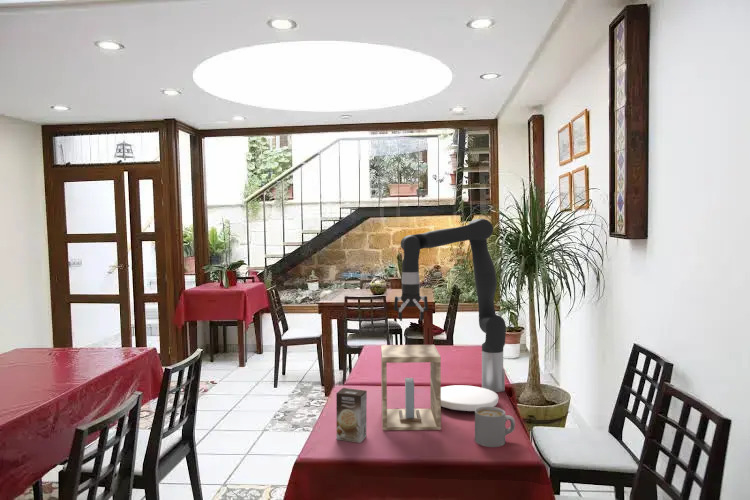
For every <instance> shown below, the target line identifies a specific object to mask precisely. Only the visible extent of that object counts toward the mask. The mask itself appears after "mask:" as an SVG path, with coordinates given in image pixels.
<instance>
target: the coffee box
mask: <svg viewBox="0 0 750 500" xmlns="http://www.w3.org/2000/svg"><path fill="white" fill-rule="evenodd" d="M367 396H368V395H367V390H366V389H365V390H364V389H356V388H350V387H349V388H347V387H342V388H341V389H340V390H338V391H337V392H336V402H335V403H336V409H335V410H336V422H335V423H336V437H335V438H336V439H335V440H337V441H345V442H351V443H352V442H353V443H358V444H361V443H362V442H363V441H364V440H365V439H366V437H367V412H368V411H367V404H368V403H367V399H368V398H367Z"/></svg>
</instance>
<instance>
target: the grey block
mask: <svg viewBox="0 0 750 500" xmlns="http://www.w3.org/2000/svg"><path fill="white" fill-rule="evenodd" d="M404 393H405V394H404V395H405V397H404V399H405V401H404V402H405V403H404V405H405V406H404V409H405V416H406V418H414V409H415V381H414V377H405V378H404Z"/></svg>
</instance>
